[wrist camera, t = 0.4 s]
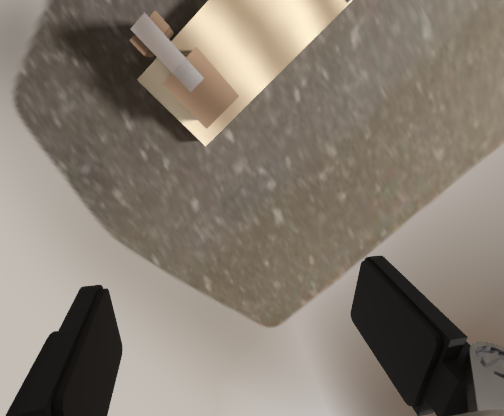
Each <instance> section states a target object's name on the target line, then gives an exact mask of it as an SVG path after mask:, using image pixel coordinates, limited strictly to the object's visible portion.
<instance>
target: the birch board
mask: <svg viewBox="0 0 504 416" xmlns="http://www.w3.org/2000/svg"><path fill="white" fill-rule="evenodd" d="M351 1H352V0H208V1H207V2H206V3H205V4H204V6H203V7H202V8H201V9H200V10H199V11H198V12H197V13H196V14H195V16H194V17H193V18H192V19H191V20H190V21H189V22H188V23H187V25H186V26H185V27H184V28H183V29H182V30H181V31H180V32H179V33H178V35H177V36H176V37H175V38H174V39H173V40H172V41H171V42H172V43H173V44H174V46H175V47H176V48H177V49H178V50H179V51H180V52H181V53H182V54H183V55H184V57H185V58H186V57H187V56H188V55H189V54H190V53H191V52H192V51H193V49H194V48H195V47H197V48H198V49H199V50H200V51H201V53H202V54H203V55H204V56H205V57H206V58H207V59H208V61H209V62H210V63H211V64H212V65H213V66H214V68H215V69H216V70H217V71H218V72H219V73H220V74H221V76H222V77H223V78H224V79H225V80H226V81H227V83H228V84H229V85H230V86H231V87H232V88H233V89H234V91H235V92H236V93H237V94H238V95H239V97H238V98H237V99H236V100H235V101H234V102H233V103H232V104H231V105H230V106H229V107H228V108H227V109H226V110H225V111H224V112H223V113H222V114H221V115H220V116H219V117H218V118H217V119H216V120H215V121H214V122H213V123H212V124H211V125H210V126H209V127H208V128H207V129H206V128H205V127H204V126H203V125H202V124H201V123H200V122H199V121H198V120H197V119H196V118H195V117H194V116H193V115H192V114H191V113H190V112H189V111H188V110H187V109H186V108H185V107H184V106H183V105H182V104H181V103H180V102H179V101H178V100H177V99H176V98H175V97H174V96H173V95H172V94H171V92H170V91H169V90H168V89H167V88H166V87H165V86H164V85H163V84H162V83H163V82H164V81H165V80H166V79H167V78H168V77H169V76H170V75H171V73H172V72H171V71H170V70H169V69H168V68H167V67H166V66H165V65H164V64H163V63H162V62H161V61H160V60H159V59H158V58H156V59H155V60H154V61H153V62H152V64H151V65H150V66H149V67H148V68H147V69H146V70H145V71H144V73H143V74H142V75H141V76H140V77H139V78H138V79H137V80H138V81H139V82H140V83H141V84H142V85H143V86H144V87H145V88H146V89H147V90H148V91H149V92H150V93H151V94H152V95H153V96H154V97H155V98H156V99H157V100H158V101H159V102H160V103H161V104H162V105H163V106H164V107H165V108H166V109H167V110H168V111H169V112H170V113H172V114H173V115H174V116H175V117H176V118H177V119H178V120H179V121H180V122H181V123H182V124H183V125H184V126H185V127H186V128H187V129H188V130H189V131H190V132H191V133H192V134H193V135H194V136H195V137H196V138H197V139H198V140H199V141H200V142H201V143H202V144H203V145H204V146H206V145H207V144H208V143H209V142H210V141H211V140H213V139H214V138H215V137H216V136H217V135H218V134H219V133H220V132H221V131H222V130H223V129H224V128H225V127H226V126H227V125H228V124H229V123H230V122H231V121H232V120H233V119H234V118H235V117H236V116H237V115H238V114H239V113H240V112H241V111H242V110H243V109H244V108H245V107H246V106H247V105H248V104H249V103H250V102H251V101H252V100H253V99H254V98H255V97H256V96H257V95H258V94H259V93H260V92H261V91H262V90H263V89H264V88H265V87H266V86H267V85H268V84H269V83H270V82H271V81H272V80H273V79H274V78H275V77H276V76H277V75H278V74H279V73H280V72H281V71H282V70H283V69H284V68H285V67H286V66H287V65H288V64H289V63H290V62H291V61H292V60H293V59H294V58H295V57H296V56H297V55H298V54H299V53H300V52H301V51H302V50H303V49H304V48H305V47H306V46H307V45H308V44H309V43H310V42H311V41H312V40H313V39H314V38H315V37H316V36H317V35H318V34H319V33H320V32H321V31H322V30H323V29H324V28H325V27H326V26H327V25H328V24H329V23H330V22H331V21H332V20H333V19H334V18H335V17H336V16H337V15H338V14H339V13H340V12H341V11H342V10H343V9H344V8H345V7H346V6H347V5H348V4H349V3H350V2H351Z"/></svg>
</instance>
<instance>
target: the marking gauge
mask: <svg viewBox="0 0 504 416" xmlns="http://www.w3.org/2000/svg"><path fill="white" fill-rule="evenodd" d="M131 30H132V31H133V33H134V35H133V36H132V38H131V39H130V40H129V41H130V42H131V43H132V44H133V45H134V46H135V47H136V48H137V49H138V50H139V51H140V52H141V53H142V54H143V55H144V56H147V57H151V58H153V57H154V56H156V57H157V58H158V59H159V60H160V61H161V62H162V63H163V64H164V65H165V66H166V67H167V68H168V69H169V70H170V71H171V72H172V73H171V75H170V76H169V77H168V78H167V79H166V80H165V81H164V82H163V83H162V84H163V85H164V86H165V87H166V88H167V89H168V90H169V91H170V92H171V94H172V95H173V96H174V97H175V98H176V99H177V100H178V101H179V102H180V103H181V104H182V105H183V106H184V107H185V108H186V109H187V110H188V111H189V112H190V113H191V114H192V115H193V116H194V117H195V118H196V119H197V120H198V121H199V122H200V123H201V124H202V125H203V126H204V127H205V128H206V129H207V128H208V127H209V126H210V125H211V124H212V123H213V122H214V121H215V120H216V119H217V118H218V117H219V116H220V115H221V114H222V113H223V112H224V111H225V110H226V109H227V108H228V107H229V106H230V105H231V104H232V103H233V102H234V101H235V100H236V99H237V98H238V97H239V95H238V94H237V93H236V92H235V91H234V89H233V88H232V87H231V86H230V85H229V84H228V83H227V81H226V80H225V79H224V78H223V77H222V76H221V74H220V73H219V72H218V71H217V70H216V69H215V68H214V66H213V65H212V64H211V63H210V62H209V61H208V59H207V58H206V57H205V56H204V55H203V54H202V53H201V51H200V50H199V49H198V48H197V47H195V48H194V49H193V51H192V52H191V53H190V54H189V55H188V56H187V57H186V58H185V57H184V55H183V54H182V53H181V52H180V51H179V50H178V49H177V48H176V47H175V46H174V44H173V43H172V42H171V41H170V40H169V39H170V38H171V37H172V36H173V35H174V33H173V31H172V30H171V28H170V26H169V25H168V24H167V23H166V22H165V21H164V20H163V18H162V17H161V16H160V15H159V14H158V13H157V12H156V10H155V11H154V12H153V13H152V14H151V16H150V17H148V16H147V15H146V13H145V12H144V14H143V15H142V16H141V17H140V18H139V19H138V21H137V22H136V23H135V24H134V25H133V26H132V28H131Z"/></svg>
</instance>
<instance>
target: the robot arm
mask: <svg viewBox="0 0 504 416" xmlns="http://www.w3.org/2000/svg"><path fill="white" fill-rule="evenodd" d="M351 318H352V321H353V323H354V324H355V326H356V327H357V329H358V330H359V332H360V334H361V335H362V336H363V338H364V340H365V341H366V343H367V344H368V346H369V347H370V349H371V350H372V352H373V353H374V355H375V357H376V358H377V360H378V361H379V363H380V364H381V366H382V367H383V369H384V370H385V372H386V373H387V375H388V377H389V378H390V380H391V381H392V383H393V384H394V386H395V387H396V389H397V390H398V392H399V393H400V395H401V397H402V398H403V400H404V401H405V402H406V404H408V405H409V406H412V407H413V409H414V410H415V412H416V413H417V415H418V416H422V415H426V414H431V413H433V412H435V413H436V415H437V416H504V348H502V347H500V346H498V345H495V344H492V343H488V342H476V343H473V344H472V345H471V346H470V345H469V344H468V343H467V342H466V339H467V336H466V335H465V334H463V332H462V331H461V330H459V329H458V328H457V327H456V326H455V325H454V324H453V323H452V322H451V321H450V320H449V319H448V318H447V317H446V316H445V315H444V314H443V313H442V312H440V310H439V309H438V308H437V307H435V306H434V305H433V304H432V303H431V302H430V301H429V300H428V299H427V298H426V297H425V296H424V295H423V294H422V293H421V292H419V290H418V289H416V287H414V286H413V285H412V284H411V283H410V282H409V281H408V280H407V279H406V278H405V277H404V276H403V275H402V274H401V273H400V272H399V271H398V270H397V269H396V268H395V267H394V266H392V265H391V264H390V263H389V262H388V261H387V260H386V259H385V258H384V257H383V256H372V257H367V258H366V259H365V260H364V261H363V262H362V263H361V266H360V271H359V276H358V281H357V286H356V290H355V295H354V300H353V304H352V309H351ZM121 356H122V343H121V339H120V334H119V331H118V326H117V322H116V318H115V314H114V310H113V306H112V302H111V298H110V294H109V290H108V289H103V287H102V286H101V285H95V286H85V287H81V289H80V290H79V292H78V294H77V296H76V298H75V300H74V302H73V304H72V306H71V308H70V310H69V311H68V313H67V315H66V317H65V319H64V321H63V323H62V325H61V327H60V329H59V331H57V332H53V333H51V334H50V335H49V337H48V338H47V340H46V342H45V344H44V345H43V347H42V349H41V351H40V353H39V355H38V357H37V358H36V361H35V362H34V364H33V366H32V368H31V369H30V371H29V373H28V375H27V377H26V379H25V381H24V383H23V384H22V386H21V388H20V390H19V392H18V394H17V395H16V397H15V399H14V401H13V403H12V405H11V406H10V409H9V410H8V412H7V414H6V416H107V414H108V409H109V405H110V401H111V397H112V393H113V389H114V385H115V381H116V377H117V373H118V369H119V364H120V360H121Z"/></svg>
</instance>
